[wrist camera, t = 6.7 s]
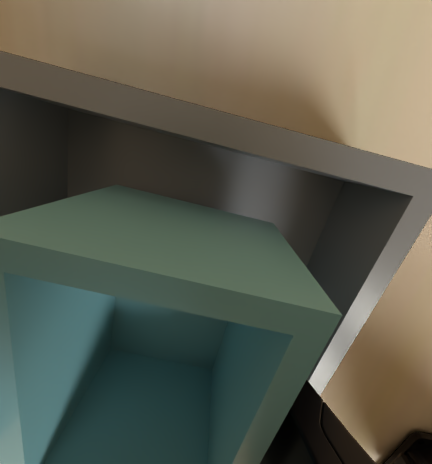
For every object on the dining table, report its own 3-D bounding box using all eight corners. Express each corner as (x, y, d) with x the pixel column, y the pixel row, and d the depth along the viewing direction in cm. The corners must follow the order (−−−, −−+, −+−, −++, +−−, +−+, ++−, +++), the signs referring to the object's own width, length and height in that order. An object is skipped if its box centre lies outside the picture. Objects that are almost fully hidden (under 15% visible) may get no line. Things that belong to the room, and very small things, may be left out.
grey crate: (358, 167, 10) (455, 175, 6) (265, 370, 15) (283, 456, 11) (62, 87, 9) (-69, 32, 5) (62, 328, 14) (-6, 403, 10)
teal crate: (273, 223, 8) (342, 315, 3) (221, 369, 11) (220, 533, 6) (116, 184, 8) (-43, 227, 3) (103, 344, 10) (6, 498, 6)
